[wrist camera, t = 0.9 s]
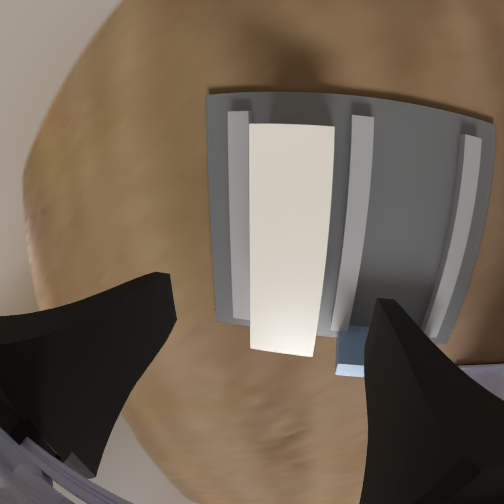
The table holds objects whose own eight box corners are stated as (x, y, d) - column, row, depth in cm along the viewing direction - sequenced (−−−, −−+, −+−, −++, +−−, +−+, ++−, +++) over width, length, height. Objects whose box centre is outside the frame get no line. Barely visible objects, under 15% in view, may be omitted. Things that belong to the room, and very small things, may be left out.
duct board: (493, 124, 12) (531, 127, 8) (444, 340, 19) (459, 380, 15) (208, 95, 16) (174, 88, 12) (218, 318, 23) (196, 355, 19)
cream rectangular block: (332, 127, 15) (334, 126, 11) (317, 312, 20) (312, 356, 16) (269, 125, 16) (248, 123, 12) (266, 306, 21) (250, 348, 17)
